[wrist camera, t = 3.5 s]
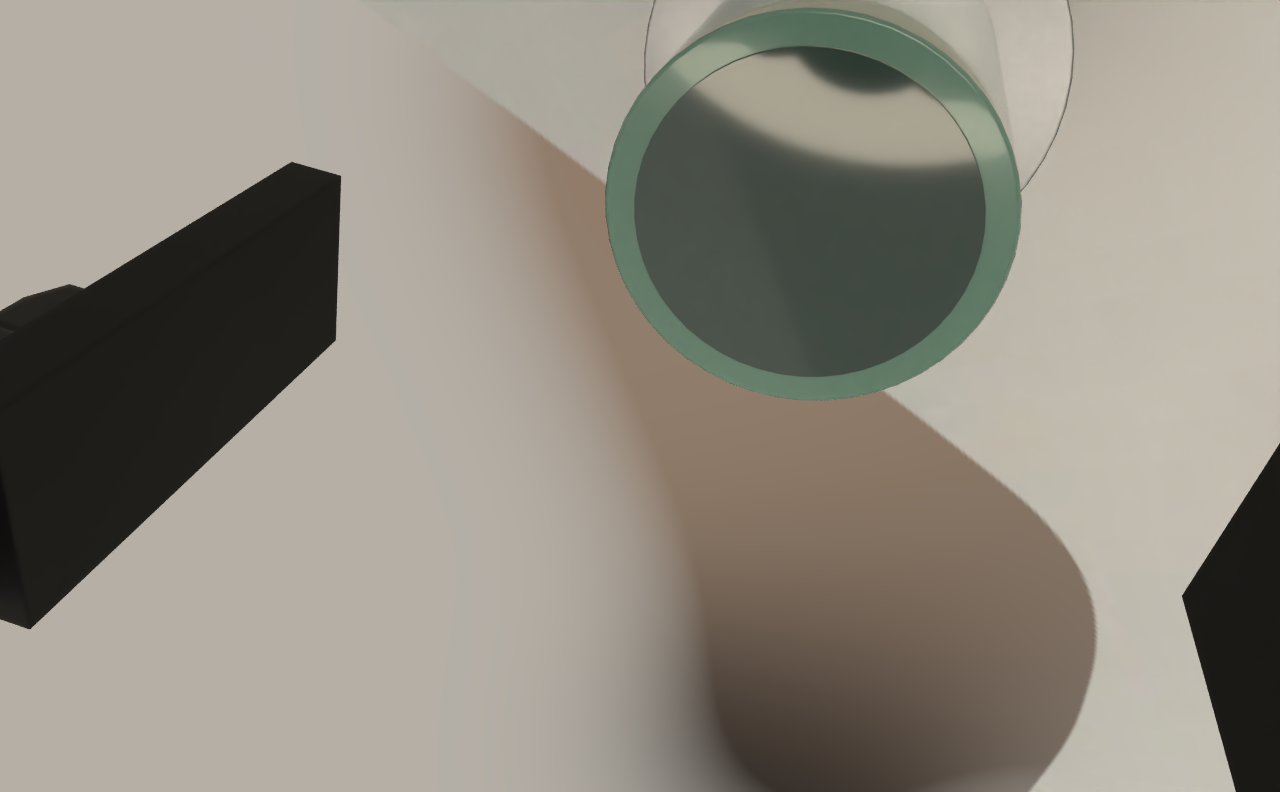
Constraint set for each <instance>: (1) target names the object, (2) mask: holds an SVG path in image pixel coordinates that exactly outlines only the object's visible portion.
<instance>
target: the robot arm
mask: <svg viewBox="0 0 1280 792" xmlns="http://www.w3.org/2000/svg"><path fill="white" fill-rule="evenodd" d="M340 192H341V176H340V175H336V174H333V173H329V172H325V171H322V170H318V169H315V168H311V167H307V166H304V165H301V164H297V163H294V162H291V163H289V164H287V165H286V166H284V167H282V168H281V169H279V170H278V171H276V172H274V173H273V174H271V175H270V176H268V177H266V178H264V179H263V180H261V181H260V182H258V183H257V184H255V185H253V186H251V187H250V188H248V189H247V190H245V191H243V192H242V193H240V194H238V195H237V196H235V197H234V198H232V199H230V200H229V201H227V202H225V203H224V204H222V205H220V206H219V207H217V208H216V209H214V210H212V211H211V212H209V213H207V214H206V215H204V216H202V217H201V218H199V219H197V220H196V221H194V222H192V223H191V224H189V225H188V226H186V227H184V228H183V229H181V230H179V231H178V232H176V233H175V234H173V235H171V236H170V237H168V238H166V239H165V240H163V241H161V242H160V243H158V244H157V245H155V246H153V247H152V248H150V249H149V250H147V251H145V252H143V253H142V254H140V255H139V256H137V257H135V258H134V259H132V260H130V261H129V262H127V263H126V264H124V265H122V266H121V267H119V268H117V269H116V270H114V271H113V272H111V273H109V274H108V275H106V276H104V277H103V278H101V279H99V280H98V281H96V282H94V283H93V284H91V285H90V286H88V287H86V288H85V289H84V288H80V287H77V286H74V285H70V284H69V285H65V286H62V287H58V288H55V289H52V290H48V291H45V292H41V293H37V294H34V295H30V296H27V297H24V298H22V299H20V300H19V301H17V302H15V303H13V304H12V305H10V306H8V307H6V308H5V309H3V310H2V311H0V619H1V620H4V621H7V622H10V623H13V624H16V625H19V626H21V627H24V628H27V629H31V628H32V627H33V626H34V625H35V624H36V623H37V622H38V621H39V620H40V619H41V618H43V617H44V615H46V614H47V613H48V612H49V611H50V610H51V609H52V608H53V607H54V606H55V605H56V604H57V603H58V602H59V601H60V600H61V599H63V598H64V597H65V596H66V595H67V594H68V593H69V592H70V591H71V590H72V589H73V588H74V587H75V586H76V585H77V584H78V583H80V582H81V580H83V579H84V578H85V577H86V576H87V575H88V574H89V573H90V572H91V571H92V570H93V569H94V568H95V567H96V566H98V565H99V564H100V562H102V561H103V560H104V559H105V558H106V557H107V556H108V555H109V554H110V553H111V552H112V551H113V550H114V549H115V548H116V547H117V546H119V545H120V544H121V543H122V542H123V541H124V540H125V539H126V538H127V537H128V536H129V535H130V534H131V533H132V532H133V531H134V530H136V529H137V528H138V527H139V526H140V525H141V524H142V523H143V522H144V521H145V520H146V519H147V518H148V517H149V516H150V515H151V514H152V513H154V512H155V511H156V510H157V509H158V508H159V507H160V506H161V505H162V504H163V503H164V502H165V501H166V500H167V499H168V498H169V497H170V496H171V495H173V494H174V493H175V492H176V491H177V490H178V489H179V488H180V487H181V486H182V485H183V484H184V483H185V482H186V481H187V480H188V479H189V478H191V477H192V476H193V475H194V474H195V473H196V472H197V471H198V470H199V469H200V468H201V467H202V466H203V465H204V464H205V463H206V462H207V461H209V459H211V457H213V456H214V455H215V454H216V453H217V452H218V451H219V450H220V449H221V448H222V447H223V446H224V445H225V444H226V443H228V442H229V441H230V440H231V439H232V438H233V437H234V436H235V435H236V434H237V433H238V432H239V431H240V430H241V429H242V428H243V427H245V425H247V424H248V423H249V422H250V421H251V420H252V419H253V418H254V417H255V416H256V415H257V414H258V413H259V412H260V411H261V410H262V409H264V407H266V406H267V405H268V404H269V403H270V402H271V401H272V400H273V399H274V398H275V397H276V396H277V395H278V394H279V393H280V392H281V391H282V390H283V389H285V388H286V387H287V386H288V385H289V384H290V383H291V382H292V381H293V380H294V379H295V378H296V377H297V376H298V375H299V374H301V373H302V372H303V371H304V370H305V369H306V368H307V367H308V366H309V365H310V364H311V363H312V362H313V361H314V360H315V359H316V358H317V357H319V355H320V354H322V353H323V352H324V351H325V350H326V349H327V348H328V347H329V346H330V345H331V344H332V343H333V342H334V341H335V340H336V316H337V315H336V314H337V285H338V284H337V283H338V252H339V221H340ZM1182 598H1183V602H1184V605H1185V609H1186V613H1187V616H1188V620H1189V623H1190V627H1191V631H1192V634H1193V638H1194V641H1195V645H1196V649H1197V652H1198V656H1199V660H1200V663H1201V667H1202V670H1203V674H1204V678H1205V681H1206V685H1207V689H1208V692H1209V696H1210V699H1211V703H1212V707H1213V710H1214V714H1215V718H1216V721H1217V725H1218V728H1219V732H1220V736H1221V739H1222V743H1223V746H1224V750H1225V754H1226V757H1227V761H1228V765H1229V768H1230V772H1231V775H1232V779H1233V783H1234V786H1235V790H1236V792H1280V444H1279V445H1278V447H1277V449H1276V450H1275V452H1274V453H1273V455H1272V456H1271V458H1270V460H1269V461H1268V463H1267V464H1266V466H1265V467H1264V469H1263V470H1262V472H1261V474H1260V475H1259V477H1258V478H1257V480H1256V481H1255V483H1254V484H1253V486H1252V488H1251V489H1250V491H1249V492H1248V494H1247V495H1246V497H1245V498H1244V500H1243V502H1242V503H1241V505H1240V506H1239V508H1238V509H1237V511H1236V513H1235V514H1234V516H1233V517H1232V519H1231V520H1230V522H1229V523H1228V525H1227V527H1226V528H1225V530H1224V531H1223V533H1222V534H1221V536H1220V537H1219V539H1218V541H1217V542H1216V544H1215V545H1214V547H1213V548H1212V550H1211V552H1210V553H1209V555H1208V556H1207V558H1206V559H1205V561H1204V562H1203V564H1202V566H1201V567H1200V569H1199V570H1198V572H1197V573H1196V575H1195V576H1194V578H1193V580H1192V581H1191V583H1190V584H1189V586H1188V587H1187V589H1186V590H1185V592H1184V594H1183V595H1182Z"/></svg>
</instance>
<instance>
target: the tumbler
mask: <svg viewBox="0 0 1280 792" xmlns="http://www.w3.org/2000/svg"><path fill="white" fill-rule="evenodd" d="M1021 208H1022V199H1021V189H1020V178H1019V171H1018V165H1017V159H1016V153H1015V147H1014V141H1013V135H1012V129H1011V123H1010V117H1009V111H1008V105H1007V99H1006V93H1005V87H1004V81H1003V75H1002V69H1001V63H1000V57H999V51H998V45H997V40H996V36H995V31H994V27H993V23H992V20H991V17H990V15H989V12H988V10H987V7H986V5H985V3H984V1H983V0H723V1H722V2H721V3H720V4H719V5H718V7H717V8H716V9H715V10H714V11H713V12H712V13H711V14H710V15H709V16H708V17H707V19H706V20H705V21H704V22H703V23H702V24H701V25H700V26H699V27H698V28H697V29H696V30H695V32H694V33H693V34H692V35H691V36H690V37H689V38H688V39H687V40H686V41H685V42H684V44H683V45H682V46H681V47H680V48H679V49H678V50H677V51H676V52H675V53H674V54H673V56H672V57H671V58H670V59H669V60H668V61H667V62H666V63H665V64H664V65H663V66H662V67H661V69H660V70H659V71H658V72H657V73H656V74H655V75H654V76H653V78H652V79H651V80H650V81H649V83H648V84H647V85H646V87H645V88H644V89H643V90H642V92H641V93H640V94H639V95H638V97H637V99H636V100H635V102H634V104H633V105H632V107H631V109H630V111H629V112H628V114H627V116H626V117H625V119H624V122H623V124H622V126H621V129H620V131H619V134H618V136H617V139H616V141H615V144H614V148H613V152H612V155H611V159H610V163H609V167H608V175H607V184H606V220H607V227H608V234H609V241H610V244H611V248H612V251H613V254H614V258H615V262H616V265H617V267H618V270H619V272H620V274H621V277H622V279H623V281H624V284H625V286H626V288H627V290H628V291H629V293H630V295H631V297H632V298H633V300H634V302H635V303H636V305H637V307H638V308H639V310H640V311H641V312H642V314H643V315H644V316H645V318H646V319H647V320H648V321H649V323H650V324H651V326H652V327H653V328H654V329H655V330H656V331H657V332H658V333H659V334H660V335H661V336H662V337H663V338H664V339H665V340H666V341H667V342H668V343H669V344H670V345H671V346H672V347H673V348H675V349H676V350H677V351H678V352H679V353H681V354H682V355H683V356H684V357H685V358H687V359H688V360H690V361H691V362H693V363H694V364H696V365H697V366H699V367H701V368H702V369H704V370H705V371H707V372H708V373H710V374H712V375H714V376H716V377H718V378H720V379H723V380H725V381H726V382H729V383H731V384H734V385H736V386H739V387H742V388H745V389H747V390H750V391H753V392H757V393H762V394H766V395H770V396H774V397H780V398H788V399H796V400H835V399H845V398H852V397H857V396H861V395H866V394H871V393H875V392H878V391H881V390H884V389H887V388H889V387H892V386H895V385H898V384H900V383H902V382H904V381H906V380H909V379H911V378H913V377H915V376H917V375H919V374H921V373H922V372H924V371H926V370H927V369H929V368H930V367H932V366H933V365H935V364H936V363H938V362H940V361H941V360H943V359H944V358H945V357H946V356H947V355H949V354H950V353H951V352H952V351H953V350H955V349H956V348H957V347H958V346H959V345H961V344H962V343H963V342H964V341H965V340H966V339H967V337H968V336H969V335H970V334H971V333H972V332H973V331H974V330H975V329H976V328H977V327H978V326H979V324H980V323H981V322H982V320H983V319H984V317H985V316H986V315H987V313H988V312H989V310H990V309H991V308H992V306H993V305H994V303H995V301H996V299H997V297H998V296H999V294H1000V292H1001V290H1002V288H1003V286H1004V284H1005V282H1006V280H1007V277H1008V274H1009V272H1010V269H1011V266H1012V263H1013V260H1014V257H1015V254H1016V249H1017V244H1018V239H1019V234H1020V228H1021Z"/></svg>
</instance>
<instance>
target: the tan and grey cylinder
mask: <svg viewBox="0 0 1280 792" xmlns="http://www.w3.org/2000/svg"><path fill="white" fill-rule="evenodd" d="M722 1H723V0H655V1H654V4H653V8H652V12H651V16H650V20H649V24H648V30H647V38H646V45H645V70H644V80H645V87H646V85H647V84H648V83H649V81H650V80H651V79H652V78H653V76H654V75H655V74H656V73H657V72H658V71H659V70H660V69H661V67H662V66H663V65H664V64H665V63H666V62H667V61H668V60H669V59H670V58H671V57H672V56H673V54H674V53H675V52H676V51H677V50H678V49H679V48H680V47H681V46H682V45H683V44H684V42H685V41H686V40H687V39H688V38H689V37H690V36H691V35H692V34H693V33H694V32H695V30H696V29H697V28H698V27H699V26H700V25H701V24H702V23H703V22H704V21H705V20H706V19H707V17H708V16H709V15H710V14H711V13H712V12H713V11H714V10H715V9H716V8H717V7H718V5H719V4H720V3H721V2H722ZM983 1H984V3H985V5H986V7H987V10H988V12H989V15H990V17H991V20H992V23H993V27H994V31H995V36H996V40H997V45H998V51H999V57H1000V63H1001V69H1002V75H1003V81H1004V87H1005V93H1006V99H1007V105H1008V111H1009V117H1010V123H1011V129H1012V135H1013V141H1014V147H1015V153H1016V159H1017V165H1018V171H1019V178H1020V189H1021V191H1022V190H1023V189H1024V188H1025V187H1026V185H1027V184H1028V183H1029V181H1030V180H1031V178H1032V177H1033V175H1034V174H1035V172H1036V171H1037V169H1038V168H1039V166H1040V165H1041V164H1042V162H1043V161H1044V159H1045V157H1046V155H1047V153H1048V151H1049V149H1050V147H1051V145H1052V143H1053V141H1054V139H1055V137H1056V135H1057V132H1058V129H1059V126H1060V123H1061V120H1062V118H1063V115H1064V112H1065V109H1066V106H1067V101H1068V96H1069V91H1070V86H1071V82H1072V73H1073V59H1074V38H1073V24H1072V16H1071V11H1070V7H1069V2H1068V0H983Z"/></svg>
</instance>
